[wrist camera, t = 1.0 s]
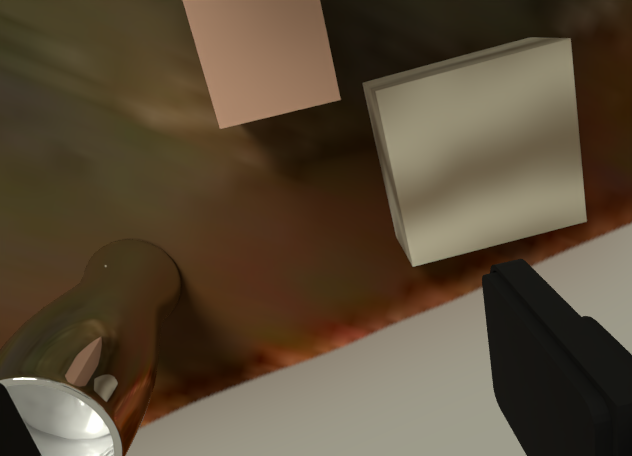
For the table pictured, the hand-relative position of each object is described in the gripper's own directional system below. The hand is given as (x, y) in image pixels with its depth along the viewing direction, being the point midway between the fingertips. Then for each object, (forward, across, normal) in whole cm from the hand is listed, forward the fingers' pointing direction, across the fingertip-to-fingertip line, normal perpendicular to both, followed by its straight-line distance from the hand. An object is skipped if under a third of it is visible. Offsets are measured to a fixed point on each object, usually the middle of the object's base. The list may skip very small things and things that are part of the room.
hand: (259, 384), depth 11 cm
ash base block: (+24, -11, +3) cm, 27 cm away
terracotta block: (+24, -1, -5) cm, 24 cm away
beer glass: (+24, +11, +8) cm, 27 cm away
